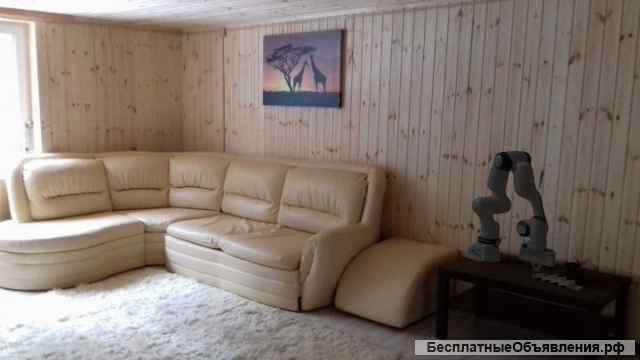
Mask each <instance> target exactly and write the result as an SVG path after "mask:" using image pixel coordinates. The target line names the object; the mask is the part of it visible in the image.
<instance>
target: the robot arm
mask: <svg viewBox="0 0 640 360" xmlns="http://www.w3.org/2000/svg"><path fill="white" fill-rule="evenodd" d="M510 172H511V173H512V174H513V175H512V177H513V189H514V192H515V194H516V195H517V196H519V197H520V198H522V199H524V200H527V201H528V202H529V203H530V204H531V208H532V214H533V216H532V217H530V218H527V219H522V220H519V221H518V222H517V225H516V231H517V232H516V233H517V234H518V235H519V236H520V237H521V238H529V241H526V242H522V243H520V248H519V251H518V258H519V260H520V261H526V262H530V265H531V266H532V271H534V272H537V273H538V272H540V270H541V268H542V266H546V267H550V268H552V267H555V266H556V264H557V261H556V260H557V259H556V258H557V257H556V256H557V252H556V251H555V250H554V249H552V248H549V247H547V245H548V240H547V236H548V232H549V228H550V226H549V223H548V220H547V218H546V213H545V209H544V203H543V200H542V195H541V193H540V191H538V189H537V187H536V181H535V173H534V169H533V166H532V156H531V154H530V153H529V152H528V151H525V150H508V151H500V152H498V153H496V154H495V156H494V158H493V162H492V164H491V167H490V170H489V173H488V178H487V183H486V186H487V188H488V190H489V191H491V195H490V196H489V195H488V196H479V197H476V198H474V199H473V201H472V203H471V209H472V211H473V212H474V213H475V214H476V216H477V217H478V219H479V222H480V235H479V236H477V237H476V239H477V240H476V241H475V242H474V243H472V244H471V245H469V246H468V248H467V252H465V253H463V257H465V258H468V259H471V260H473V261H476V262H479V263H498V262H501V261H502V259H501V256H500V255H501V253H500V244H501V237H500V232H501V224H500V223H499V222H498V221H497V220H495V218H494V215H501V214H503V215H504V214H506V213H509V212H510V211H511V210H512V200H511V199H510V198H509V196H508V195H507V186H508V180H509V177H510V176H509V175H510ZM536 264H537V266H536Z"/></svg>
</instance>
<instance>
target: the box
mask: <svg viewBox="0 0 640 360" xmlns="http://www.w3.org/2000/svg"><path fill="white" fill-rule="evenodd" d="M580 271H581V264H580V263H577V262H576V261H575V262H574V261H564V264H563V275H564V277H568V278H570V279H572V278H580Z"/></svg>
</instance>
